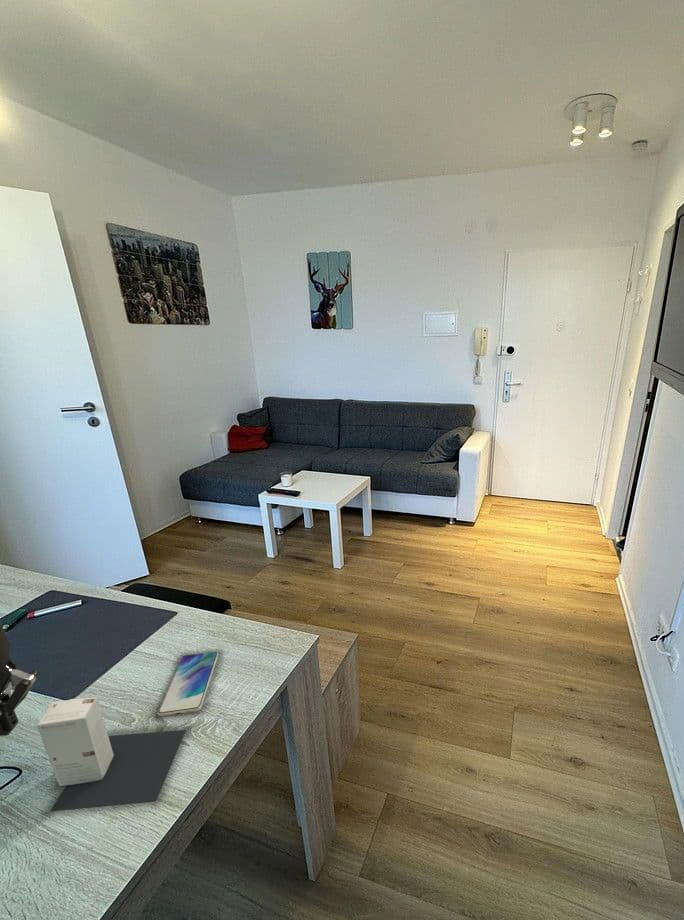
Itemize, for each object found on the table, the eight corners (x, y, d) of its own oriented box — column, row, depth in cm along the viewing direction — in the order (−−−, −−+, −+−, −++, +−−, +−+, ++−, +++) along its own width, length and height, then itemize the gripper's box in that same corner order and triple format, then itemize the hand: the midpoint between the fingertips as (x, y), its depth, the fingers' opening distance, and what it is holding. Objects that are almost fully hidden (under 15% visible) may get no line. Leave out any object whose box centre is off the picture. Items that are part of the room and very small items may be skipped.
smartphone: (155, 714, 74) (181, 655, 88) (157, 718, 75) (182, 658, 88) (200, 708, 76) (219, 650, 89) (201, 712, 76) (219, 654, 90)
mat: (50, 813, 60) (49, 811, 60) (98, 738, 71) (97, 736, 71) (156, 803, 61) (155, 801, 61) (186, 731, 72) (186, 729, 72)
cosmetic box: (58, 788, 63) (31, 727, 58) (73, 760, 67) (49, 701, 62) (105, 780, 64) (82, 719, 59) (117, 753, 68) (97, 694, 63)
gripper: (36, 610, 59) (72, 706, 65) (-71, 616, 57) (-23, 713, 64) (-7, 647, 52) (38, 750, 58) (-130, 654, 50) (-69, 759, 57)
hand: (6, 730), depth 61 cm, fingers closed
